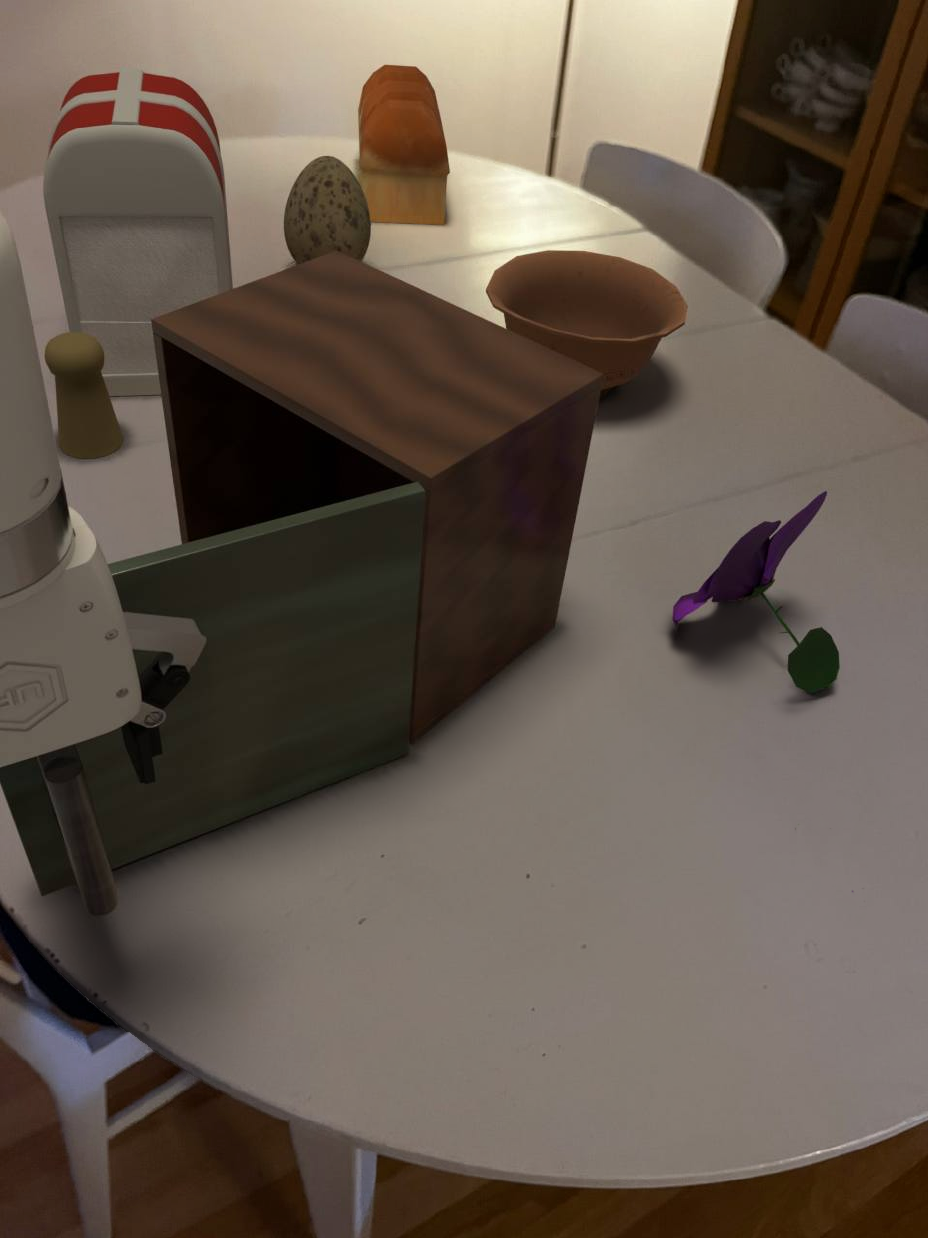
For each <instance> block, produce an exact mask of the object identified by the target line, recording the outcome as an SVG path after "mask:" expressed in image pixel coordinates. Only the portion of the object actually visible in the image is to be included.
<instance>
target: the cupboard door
mask: <svg viewBox="0 0 928 1238" xmlns="http://www.w3.org/2000/svg"><path fill="white" fill-rule="evenodd" d="M424 504H425V489H424V488H423V487H422V486H421V485H420V484H419V482H414V483H410V484H407V485H403V486H399V487H395V488H392V489H388V490H384V491H380V492H377V493H373V494H369V495H365V496H362V497H358V498H354V499H350V500H346V501H343V502H339V503H335V504H331V505H328V506H324V507H320V508H316V509H313V510H309V511H305V512H301V513H298V514H294V515H290V516H286V517H283V518H279V519H275V520H271V521H268V522H264V523H260V524H256V525H253V526H249V527H245V528H241V529H238V530H234V531H230V532H226V533H223V534H219V535H215V536H211V537H208V538H204V539H200V540H196V541H193V542H189V543H185V544H182V543H181V544H178V545H174V546H170V547H166V548H162V549H160V550H156V551H151V552H147V553H143V554H140V555H137V556H133V557H129V558H125V559H121V560H118V561H114V562H110V563H107V564H108V567H109V569H110V572H111V575H112V577H113V580H114V584H115V587H116V590H117V593H118V597H119V600H120V604H121V607H122V611H123V612H131V613H141V614H151V615H160V616H170V617H180V618H190V619H194V620H196V621H197V622H198V624H199V626H200V628H201V630H202V631H203V633H204V635H205V637H206V644H205V646H204V648H203V650H202V652H201V654H200V656H199V657H198V659H197V661H196V663H195V665H194V666H192V667H191V669H190V671H189V674H190V681H189V682H188V684H187V685H186V686H185V687H184V688H183V689H182V690H181V691H180V692H179V694H178V695H177V696H176V697H175V698H174V699H173V700H172V701H171V702H170V703H169V704H168V706H167V707H166V708H165V709H164V711H165V713H166V718H165V720H164V721H163V723H161V724H160V725H159V731H160V738H161V744H162V751H163V754H161V755H158V756H155V757H152V760H153V766H154V772H155V779H156V782H153V783H150V784H147V785H145V783H140V781H139V778H138V776H137V774H136V771H135V769H134V766H133V764H132V762H131V759H130V757H129V754H128V752H127V750H126V747H125V744H124V740H123V734H122V729H121V727H119V728H117V729H115V730H113V731H110V732H108V733H105V734H102V735H100V736H97V737H94V738H91V739H88V740H85V741H82V742H79V743H76V744H73V745H70V746H66V747H63V748H60V749H57V750H54V751H51V752H48V753H45V754H42V755H38V756H35V757H32V758H29V759H26V760H23V761H19V762H16V763H13V764H10V765H6V766H3V767H0V788H1V790H2V793H3V795H4V798H5V801H6V804H7V806H8V809H9V812H10V814H11V818H12V820H13V824H14V825H15V829H16V831H17V833H18V837H19V839H20V843H21V844H22V848H23V850H24V853H25V855H26V859H27V862H28V864H29V867H30V868H31V872H32V874H33V877H34V881H35V883H36V886H37V888H38V892H39V893H40V896H41V897H44V896H47V895H49V894H52V893H55V892H57V891H60V890H62V889H65V888H69V887H71V886H73V885H75V884H77V886H78V890H79V892H80V895H81V899H82V901H83V904H84V907H85V909H86V911H87V912H88V914H89V915H92V916H95V917H103V916H107V915H109V914H111V913H112V912H113V911H114V910H116V908H117V906H118V904H119V901H120V896H119V893H118V890H117V886H116V883H115V879H114V875H113V871H112V870H113V869H116V868H119V867H122V866H124V865H126V864H130V863H131V862H134V861H137V860H139V859H143V858H145V857H147V856H150V855H153V854H154V853H157V852H160V851H162V850H165V849H168V848H170V847H173V846H176V845H178V844H180V843H183V842H185V841H188V840H190V839H191V840H192V839H193V838H196V837H198V836H201V835H203V834H206V833H209V832H211V831H214V830H216V829H219V828H221V827H225V826H227V825H230V824H231V823H234V822H236V821H239V820H241V819H244V818H247V817H250V816H252V815H254V814H257V813H260V812H262V811H265V810H268V809H270V808H273V807H276V806H277V805H280V804H283V803H285V802H288V801H291V800H293V799H295V798H299V797H301V796H303V795H305V794H308V793H311V792H313V791H317V790H319V789H321V788H324V787H326V786H329V785H331V784H334V783H337V782H339V781H342V780H344V779H346V778H349V777H352V776H354V775H355V776H356V775H357V774H359V773H362V772H364V771H367V770H370V769H373V768H375V767H378V766H380V765H382V764H386V763H388V762H390V761H394V760H396V759H399V758H400V757H403V756H406V755H408V753H409V744H410V743H409V729H410V714H411V699H412V684H413V669H414V654H415V639H416V624H417V609H418V594H419V579H420V564H421V549H422V534H423V519H424ZM132 651H133V655H134V660H135V664H136V669H138V670H140V671H142V672H143V671H144V670H145V669H146V668H147V666H148V665H149V664H150V663H151V662H152V661H153V660H154V659H155V658H156V656H157V655H158V654H160V653H161V652H159V651H146V650H133V649H132Z"/></svg>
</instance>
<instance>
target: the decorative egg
mask: <svg viewBox="0 0 928 1238" xmlns="http://www.w3.org/2000/svg"><path fill="white" fill-rule="evenodd" d="M283 234H284V235H283V236H284V239H285V243H286V247H287V250H288V252H289V254H290V256H291V258H292V260H293V261H294V262H295V264H296V265H299V264H302V263H304V262H307V261H310V260H313V259H315V258H318V257H321V256H323V255H326V254H329V253H331V252H334V251H339V252H341V253H344V254H346V255H348V256H350V257H352V258H354V259H356V260H359V261H361V262H363V260H364V259H365V256H366V255H367V252H368V249H369V245H370V242H371V236H372V235H371V234H372V224H371V221H370V213H369V208H368V204H367V201H366V198H365V195H364V192H363V190H362V188H361V186H360V181H359V180H358V178H357V176H356V175H355V174H354V173H353V171H352V170H351V169H350V168H349V167H348V165H347V164H345V163H344V162H343V161H342V160H341V159H339V158H337V157H335V156H332V155H322V156H319V157H317V158H314V159H312V160H311V161H310V162H309V163H308V164H307V165H306V166H305V167H304V168H303V169H302V170H301V171H300V173H299V174H298V175H297V177H296V179H295V181H294V182H293V185H292V187H291V189H290V192H289V194H288V197H287V200H286V203H285V207H284V214H283Z"/></svg>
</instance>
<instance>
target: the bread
mask: <svg viewBox="0 0 928 1238" xmlns="http://www.w3.org/2000/svg"><path fill="white" fill-rule="evenodd" d="M441 117H442V116H441V112H440V108H439V104H438V99H437V95H436V90H435V87H433V85H432V83H431V81H430V80H429V78H428V76H427V75H426V74H425V73H424V72H423V71H422V70H421V69H419V68H418V67H417V66H412V65H398V64H397V65H396V64H383V65H382V66H380V67H379V68H378V69H376V70H375V71H373V72H372V73H371V75H370V76H369V77H368V78H367V80H366V82H365V83H364V84H363V86H362V88H361V94H360V99H359V104H358V108H357V120H358V121H357V122H358V123H357V124H358V152H359V153H358V154H359V156H358V157H359V184H360V186H361V188H362V190H363V192H364V195H365V198H366V201H367V204H368V208H369V213H370V221H371V222H372V223H391V224H392V223H393V224H413V225H414V224H418V225H435V226H436V225H439V226H445V217H446V216H445V215H446V201H447V200H446V199H447V188H448V187H447V185H448V176H449V174H450V173H451V169H450V161H449V154H448V153H449V152H448V147H447V141H446V137H445V132H444V126H443V122H442V118H441Z"/></svg>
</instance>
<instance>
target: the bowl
mask: <svg viewBox="0 0 928 1238" xmlns="http://www.w3.org/2000/svg"><path fill="white" fill-rule="evenodd" d="M485 293H486V296H487V298H488V300H489V301H490V304H491V306H492V307H493V308H494V309H496V310H497V311H499V312H501V313H502V314H503V319H504V324H505V328H506V329H508V330H510V331H512V332H514V333H516V334H518V335H521V336H523V337H525V338H527V339H529V340H531V341H534V342H536V343H538V344H540V345H542V346H544V347H547V348H549V349H551V350H553V351H555V352H557V353H560V354H562V355H564V356H566V357H568V358H570V359H572V360H575V361H577V362H579V363H581V364H583V365H585V366H588V367H590V368H592V369H594V370H596V371H598V372H601V373H603V374H604V376H603V381H602V386H601V392H600V397H599V398H601V397H603V396H605V395H606V394H608V392H610V391H611V390H612V388H614V387H618V386H622V385H624V384H626V383H628V382H629V381H630V380H632V379H633V378H635V377H636V376H637V375H638V374H639V373H642V371H643V370H645V368H646V367H647V366H648V365H649V363H650V362H651V359H652V357H653V356H654V354H655V352H656V350H657V348H658V346H659V343H661V341H662V339H663V338H666V337H668V336H670V335H671V334H672V333H674V332H675V331H677V330H679V329H680V328H682V327H683V326H685V325H686V322H687V321H686V320H687V315H688V308H689V305H688V304H687V302H686V300H685V299H684V297H683V295H682V293H681V292H680V290H679V288H678V287H677V286H676V285H675V284H674V283H672V282H671V281H669V280H668V279H667V278H665V277H664V276H663V275H662V274H661V273H659V272H657V271H656V270H655V269H653V268H651V267H648V266H645V265H642V264H640V263H637V262H634V261H632V260H630V259H629V260H628V259H626V258H624V257H621V256H615V255H609V254H604V253H599V252H592V251H587V250H559V249H558V250H557V249H556V250H555V249H553V250H552V249H549V250H548V249H547V250H542V251H537V252H530V253H526V254H525V253H524V254H520V255H516V256H514V257H513V258H512V259H510V260H508V261H507V262H505V263H504V264H502V265H500V266H499V267H497V268H496V269H495V270H494V271H493V273H492V275H491V277H490V280H489V282H488V284H487V286H486V288H485Z"/></svg>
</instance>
